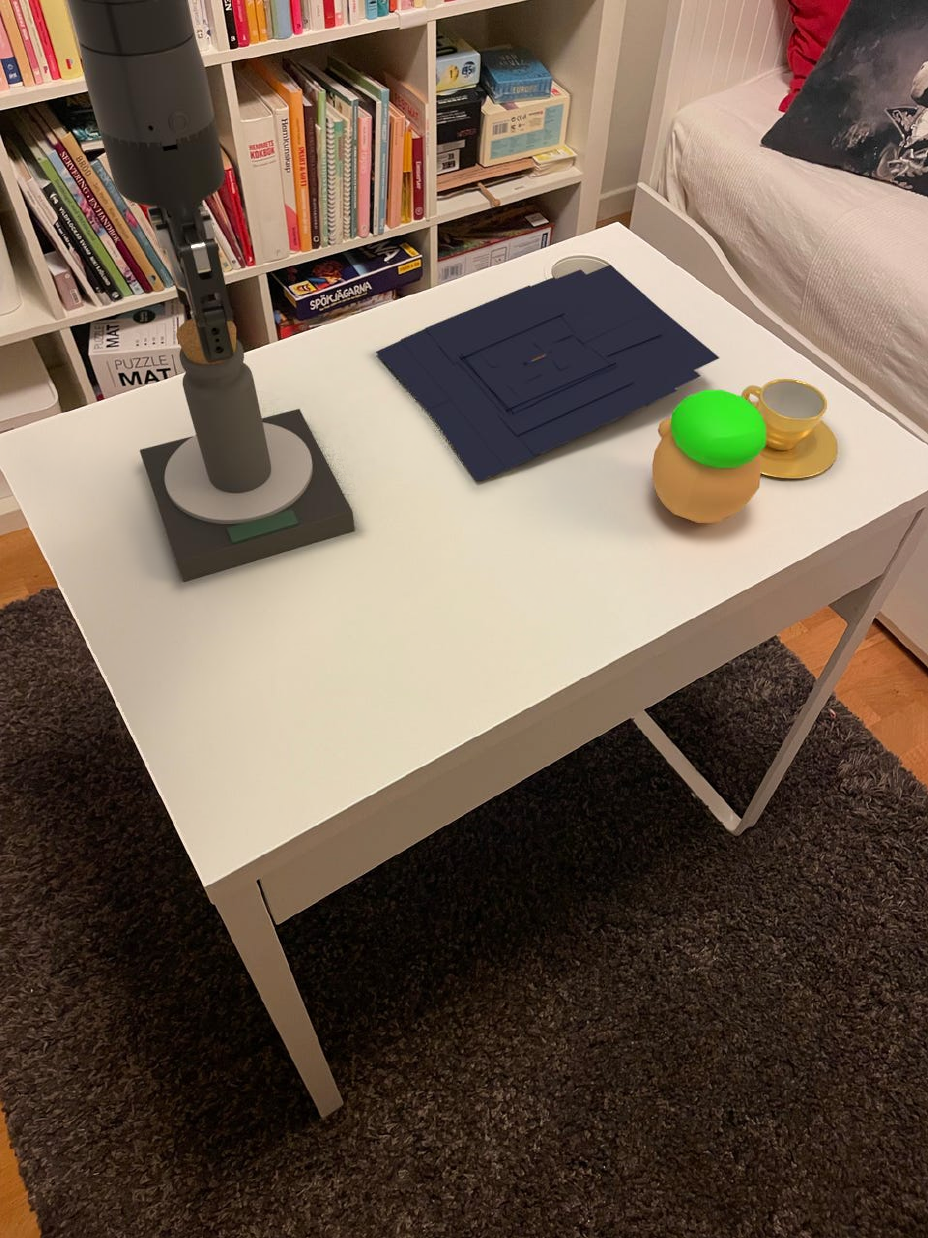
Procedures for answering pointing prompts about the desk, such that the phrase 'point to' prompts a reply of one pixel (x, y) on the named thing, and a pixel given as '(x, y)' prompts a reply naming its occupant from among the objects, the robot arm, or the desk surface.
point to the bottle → (224, 414)
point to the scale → (247, 501)
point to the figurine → (709, 456)
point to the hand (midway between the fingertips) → (206, 328)
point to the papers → (544, 366)
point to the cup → (793, 429)
